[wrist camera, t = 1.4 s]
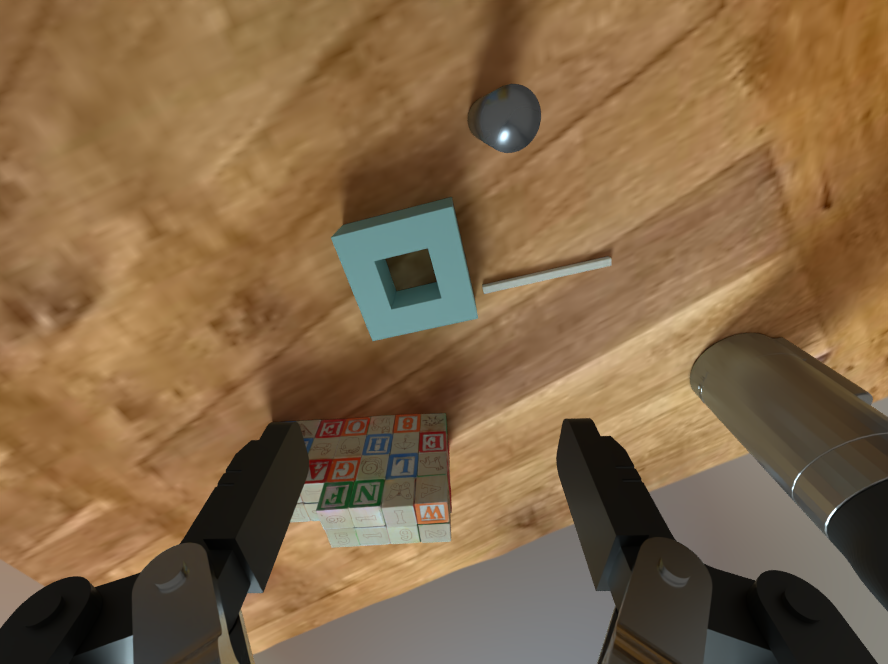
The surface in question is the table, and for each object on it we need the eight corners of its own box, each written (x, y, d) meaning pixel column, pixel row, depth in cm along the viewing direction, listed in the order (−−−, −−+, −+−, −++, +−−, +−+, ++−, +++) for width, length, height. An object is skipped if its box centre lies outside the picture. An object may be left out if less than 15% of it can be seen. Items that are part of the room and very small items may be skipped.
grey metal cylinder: (502, 91, 28) (537, 75, 18) (508, 134, 30) (544, 144, 19) (463, 102, 28) (475, 93, 18) (471, 145, 30) (487, 159, 20)
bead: (451, 197, 32) (452, 206, 28) (474, 299, 37) (478, 318, 33) (342, 224, 33) (330, 237, 30) (379, 320, 38) (372, 341, 34)
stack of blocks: (286, 456, 48) (241, 552, 37) (271, 420, 45) (218, 514, 34) (450, 448, 47) (452, 544, 37) (447, 411, 44) (448, 504, 34)
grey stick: (608, 256, 35) (611, 258, 34) (608, 263, 35) (611, 265, 34) (482, 284, 36) (482, 287, 35) (483, 291, 36) (484, 293, 36)
